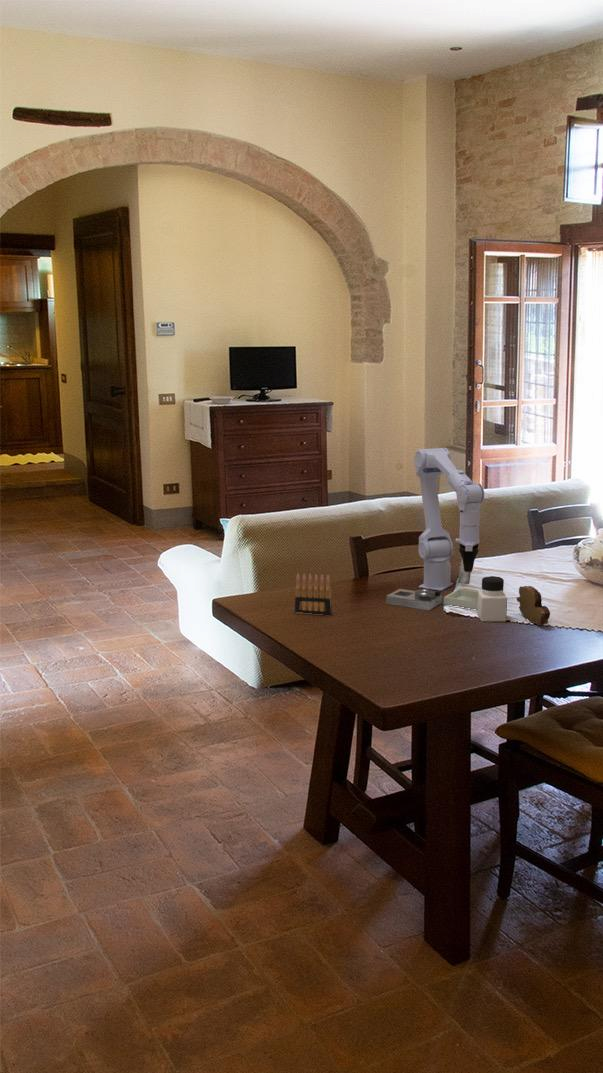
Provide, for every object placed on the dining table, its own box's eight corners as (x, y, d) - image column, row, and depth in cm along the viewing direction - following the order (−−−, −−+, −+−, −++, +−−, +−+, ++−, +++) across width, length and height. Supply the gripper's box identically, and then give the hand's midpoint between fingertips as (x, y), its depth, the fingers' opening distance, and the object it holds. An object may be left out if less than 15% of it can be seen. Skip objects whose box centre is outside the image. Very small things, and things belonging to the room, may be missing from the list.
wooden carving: (555, 628, 270) (557, 593, 268) (541, 630, 269) (542, 595, 267) (524, 612, 286) (526, 579, 284) (510, 614, 284) (511, 580, 282)
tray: (458, 596, 303) (458, 588, 302) (492, 601, 297) (492, 593, 296) (443, 605, 294) (443, 597, 293) (478, 610, 288) (478, 602, 287)
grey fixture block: (399, 596, 303) (399, 581, 302) (441, 603, 296) (442, 587, 295) (386, 603, 296) (386, 588, 295) (429, 610, 289) (429, 594, 288)
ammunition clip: (332, 614, 286) (331, 574, 283) (330, 615, 284) (330, 575, 282) (296, 612, 288) (295, 572, 286) (294, 613, 286) (294, 573, 284)
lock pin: (456, 580, 296) (460, 551, 294) (470, 582, 296) (475, 554, 294) (456, 583, 292) (461, 554, 290) (470, 585, 291) (475, 556, 290)
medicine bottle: (506, 621, 277) (507, 580, 274) (480, 621, 277) (482, 580, 275) (501, 614, 284) (503, 574, 281) (477, 614, 284) (478, 574, 282)
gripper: (456, 519, 298) (455, 563, 301) (455, 529, 284) (454, 575, 287) (479, 520, 297) (478, 564, 300) (480, 530, 283) (478, 576, 286)
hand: (468, 569), depth 293 cm, fingers closed on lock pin, 4 cm apart
